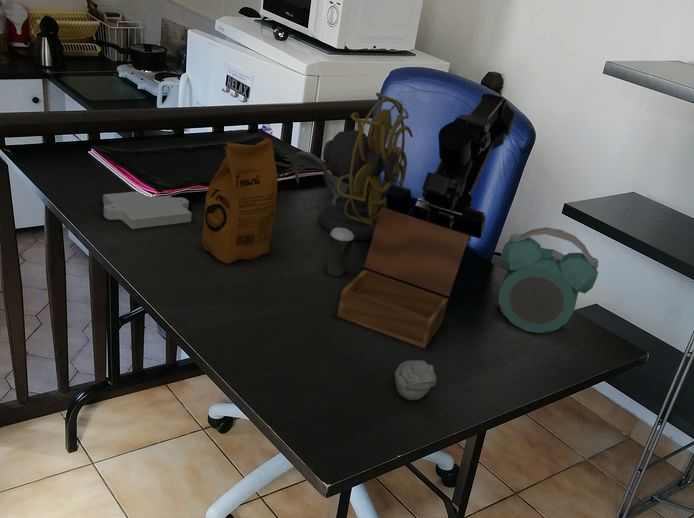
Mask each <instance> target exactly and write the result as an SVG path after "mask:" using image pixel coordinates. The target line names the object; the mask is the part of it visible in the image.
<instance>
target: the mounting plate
mask: <svg viewBox="0 0 694 518" xmlns="http://www.w3.org/2000/svg"><path fill="white" fill-rule="evenodd" d="M102 196H103V197H102V204H103V217H104V218H105V219H106V220H110V221H115V220H120V221H122V222H123V223H124V224H126V225H127V226H128V227H129V228H130V229H132V230H135V229H136V230H137V229H144V228H151V227H152V228H153V227H160V226H169V225H176V224H177V225H178V224H183V223H191V222H192V215H193V213H192V212H191V211H190V210H189V203H190V202H189V200H188V199H187V198H185V197H173V196H171V195H169V196H165V197H148V196H145V195H144V194H142V193H140V192H139V190H138V191H127V192H115V193H107V194H106V193H105V194H103V195H102Z"/></svg>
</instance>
